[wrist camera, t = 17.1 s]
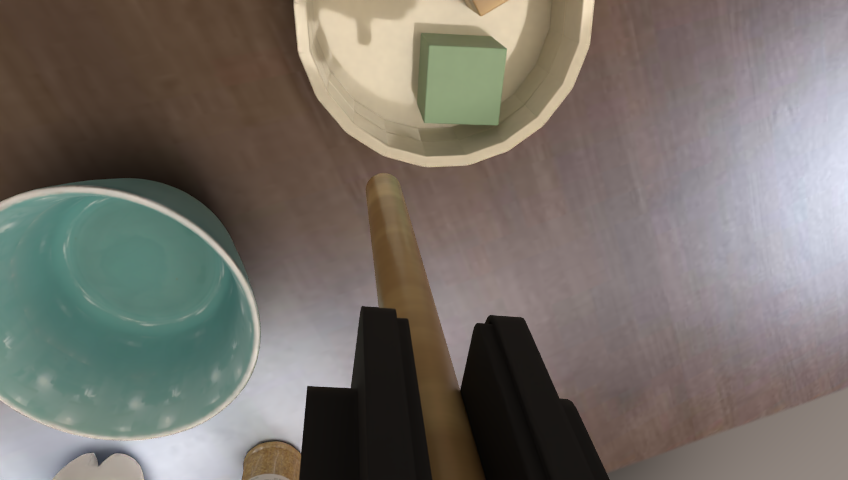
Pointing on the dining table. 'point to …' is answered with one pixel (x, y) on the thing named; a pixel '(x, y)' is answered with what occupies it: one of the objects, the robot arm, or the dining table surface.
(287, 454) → the sprinkles bottle
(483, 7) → the maple block
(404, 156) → the stir bowl
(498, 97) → the sage block
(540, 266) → the dining table surface
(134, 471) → the water bottle
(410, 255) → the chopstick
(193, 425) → the bowl
